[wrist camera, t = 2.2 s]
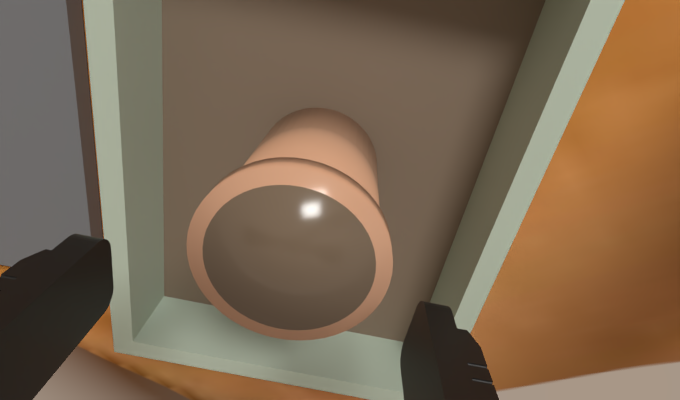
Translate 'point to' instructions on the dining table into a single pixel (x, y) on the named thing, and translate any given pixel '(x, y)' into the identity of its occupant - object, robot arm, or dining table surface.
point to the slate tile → (45, 129)
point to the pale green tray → (360, 105)
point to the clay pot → (296, 232)
